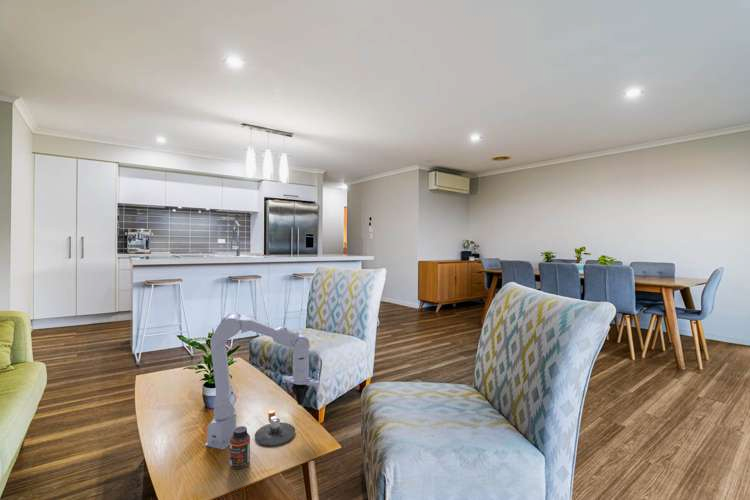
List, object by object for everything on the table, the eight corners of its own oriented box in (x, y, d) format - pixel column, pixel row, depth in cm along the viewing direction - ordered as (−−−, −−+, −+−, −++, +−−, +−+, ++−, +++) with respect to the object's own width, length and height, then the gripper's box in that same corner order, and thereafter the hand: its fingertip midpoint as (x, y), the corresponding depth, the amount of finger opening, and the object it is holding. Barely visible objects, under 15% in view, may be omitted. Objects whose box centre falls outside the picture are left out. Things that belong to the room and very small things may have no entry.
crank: (280, 432, 128) (280, 419, 128) (271, 434, 127) (271, 421, 127) (275, 421, 136) (275, 409, 136) (266, 423, 135) (266, 411, 134)
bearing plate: (281, 449, 120) (281, 446, 120) (246, 442, 125) (246, 438, 125) (302, 428, 134) (302, 425, 134) (269, 422, 138) (269, 419, 138)
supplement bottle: (228, 472, 109) (228, 435, 108) (231, 460, 114) (230, 425, 114) (249, 468, 110) (249, 432, 110) (250, 457, 116) (250, 423, 116)
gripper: (323, 366, 134) (323, 401, 134) (289, 361, 138) (289, 396, 138) (314, 372, 127) (314, 410, 127) (279, 368, 131) (279, 404, 132)
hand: (300, 403), depth 132 cm, fingers closed
